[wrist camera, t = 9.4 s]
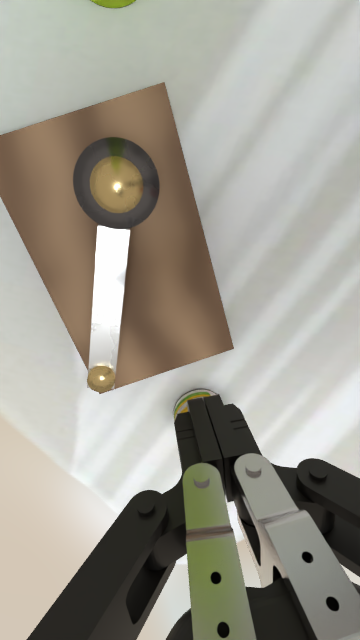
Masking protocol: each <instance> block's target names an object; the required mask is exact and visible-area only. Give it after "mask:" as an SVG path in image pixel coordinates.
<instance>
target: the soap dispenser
mask: <svg viewBox="0 0 360 640" xmlns="http://www.w3.org/2000/svg"><path fill="white" fill-rule="evenodd" d="M91 1H92V2H94V3H96V4H98V5H101V6H104V7H108V8H120V7H124V6H127V5H129V4H131V3H133V2H134V1H136V0H91Z"/></svg>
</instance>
